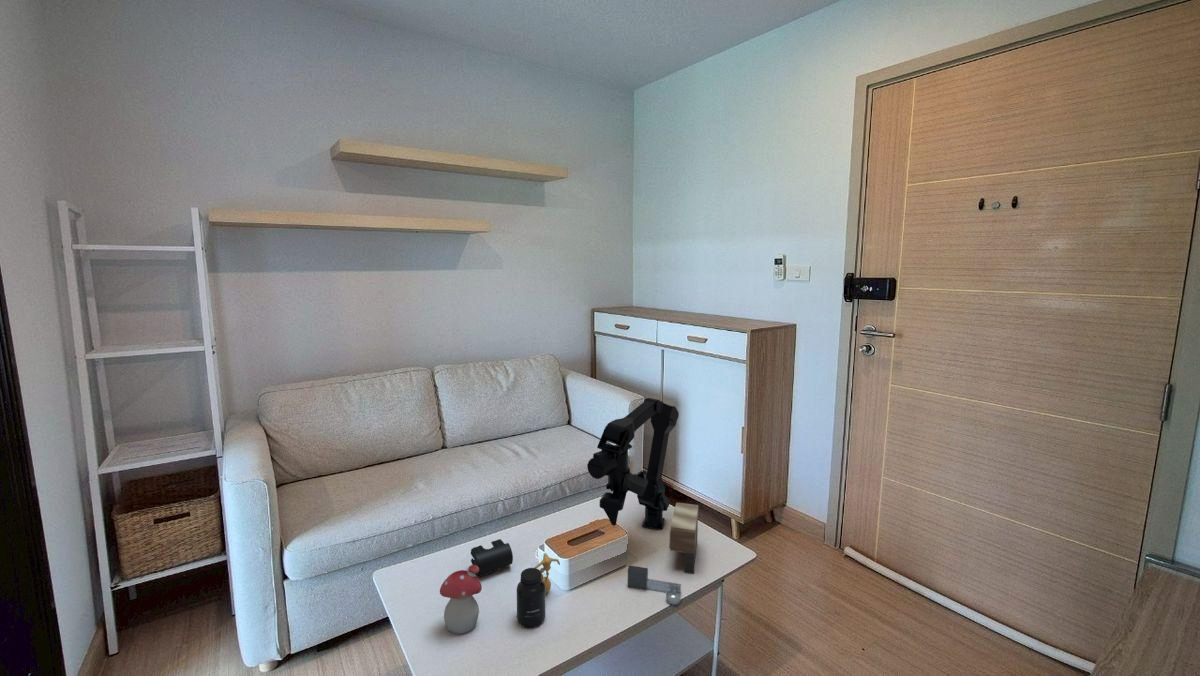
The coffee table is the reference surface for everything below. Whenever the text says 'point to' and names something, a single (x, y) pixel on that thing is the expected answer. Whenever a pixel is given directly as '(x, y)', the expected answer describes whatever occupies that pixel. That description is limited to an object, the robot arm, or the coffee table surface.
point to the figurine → (546, 567)
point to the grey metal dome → (673, 597)
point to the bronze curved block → (685, 533)
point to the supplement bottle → (530, 598)
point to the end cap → (492, 557)
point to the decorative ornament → (461, 600)
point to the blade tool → (648, 581)
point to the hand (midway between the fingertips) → (617, 516)
